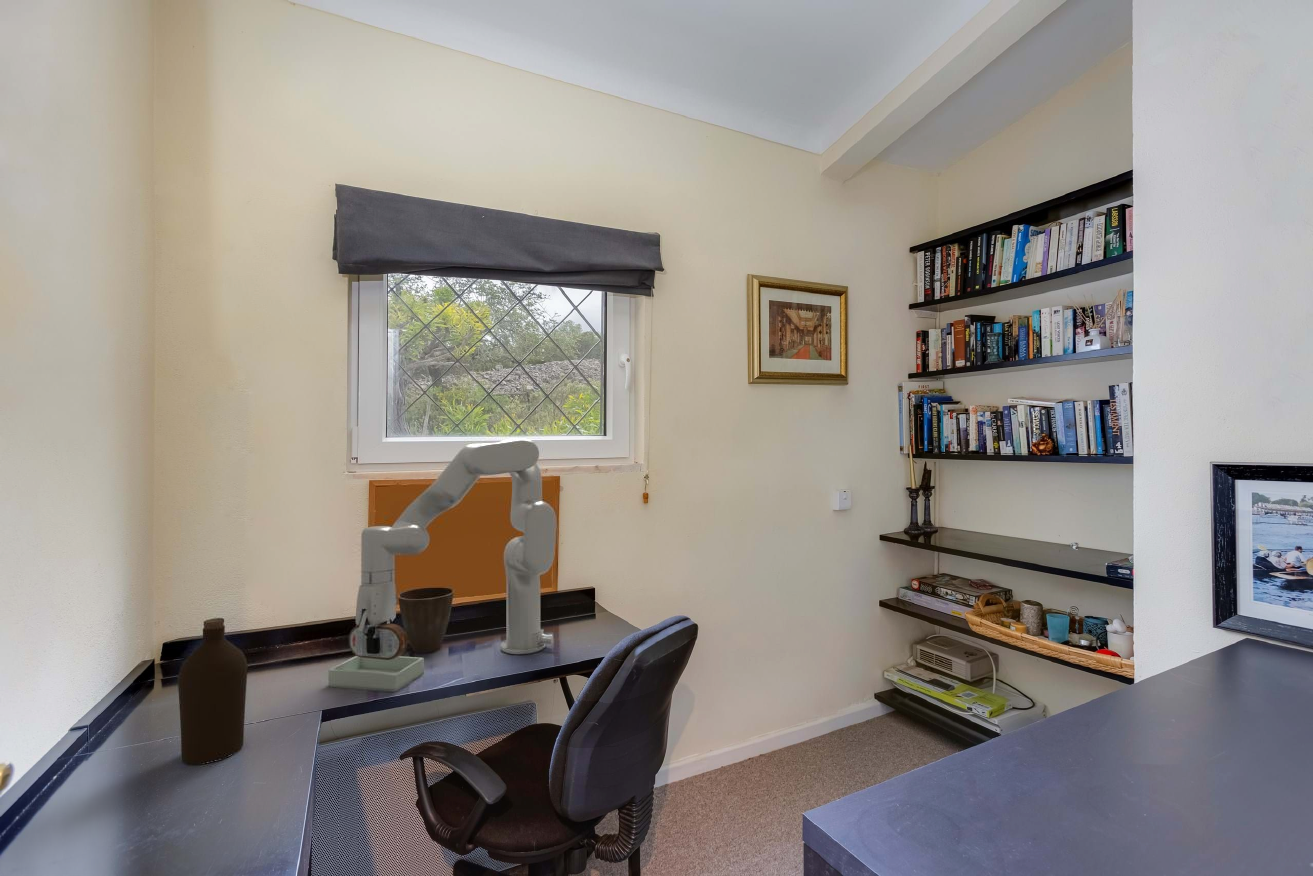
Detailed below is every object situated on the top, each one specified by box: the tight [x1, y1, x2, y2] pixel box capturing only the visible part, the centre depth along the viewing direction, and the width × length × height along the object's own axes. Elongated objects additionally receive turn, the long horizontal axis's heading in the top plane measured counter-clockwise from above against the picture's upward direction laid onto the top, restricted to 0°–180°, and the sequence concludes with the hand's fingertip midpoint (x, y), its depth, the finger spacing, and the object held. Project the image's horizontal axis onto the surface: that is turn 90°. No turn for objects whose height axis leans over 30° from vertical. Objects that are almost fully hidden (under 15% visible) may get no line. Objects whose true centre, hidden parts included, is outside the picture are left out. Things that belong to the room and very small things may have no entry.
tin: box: [348, 623, 409, 660], centre depth 149 cm, size 15×3×8 cm, turn 79°
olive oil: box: [177, 617, 249, 766], centre depth 114 cm, size 11×11×25 cm
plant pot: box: [397, 586, 455, 654], centre depth 171 cm, size 15×15×16 cm
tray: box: [327, 655, 425, 693], centre depth 148 cm, size 18×12×4 cm, turn 79°
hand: (377, 650), depth 149 cm, fingers closed on tin, 2 cm apart
